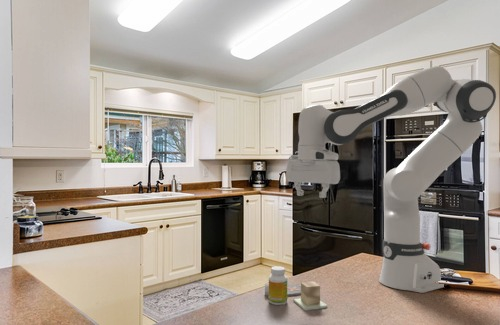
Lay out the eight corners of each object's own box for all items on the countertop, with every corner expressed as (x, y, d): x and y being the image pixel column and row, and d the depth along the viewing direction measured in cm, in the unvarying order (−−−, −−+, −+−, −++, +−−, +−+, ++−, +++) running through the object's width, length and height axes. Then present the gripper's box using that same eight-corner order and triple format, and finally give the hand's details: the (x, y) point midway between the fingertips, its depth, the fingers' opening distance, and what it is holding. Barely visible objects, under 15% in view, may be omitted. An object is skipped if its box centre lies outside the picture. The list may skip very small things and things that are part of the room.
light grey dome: (277, 290, 112) (277, 281, 112) (284, 296, 107) (284, 286, 107) (262, 292, 110) (262, 283, 110) (268, 298, 105) (268, 288, 105)
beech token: (313, 298, 103) (313, 281, 103) (320, 303, 99) (320, 285, 99) (300, 299, 102) (301, 282, 102) (306, 305, 98) (307, 287, 98)
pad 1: (298, 286, 116) (298, 284, 116) (308, 293, 109) (308, 291, 109) (278, 288, 113) (278, 286, 113) (287, 296, 107) (287, 293, 107)
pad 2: (314, 298, 105) (314, 296, 105) (327, 307, 99) (327, 305, 99) (293, 301, 103) (293, 298, 103) (304, 310, 96) (304, 308, 96)
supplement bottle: (286, 306, 99) (286, 271, 99) (267, 304, 100) (267, 270, 100) (288, 299, 105) (288, 266, 105) (269, 297, 106) (270, 264, 106)
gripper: (282, 154, 123) (281, 194, 123) (331, 154, 108) (330, 199, 108) (294, 155, 127) (293, 193, 127) (343, 154, 112) (342, 198, 112)
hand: (311, 196), depth 117 cm, fingers open, 8 cm apart
